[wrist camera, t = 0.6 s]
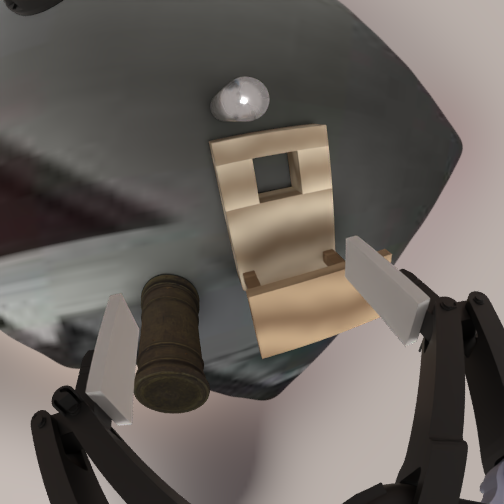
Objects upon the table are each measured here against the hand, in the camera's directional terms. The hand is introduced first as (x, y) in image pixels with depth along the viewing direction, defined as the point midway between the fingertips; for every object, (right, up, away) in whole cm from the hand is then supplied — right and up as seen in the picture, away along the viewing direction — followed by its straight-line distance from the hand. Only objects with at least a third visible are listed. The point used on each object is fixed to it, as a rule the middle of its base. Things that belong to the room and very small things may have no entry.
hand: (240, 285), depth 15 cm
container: (-12, -5, +26) cm, 29 cm away
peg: (-2, +20, +16) cm, 25 cm away
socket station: (+4, +9, +23) cm, 25 cm away
